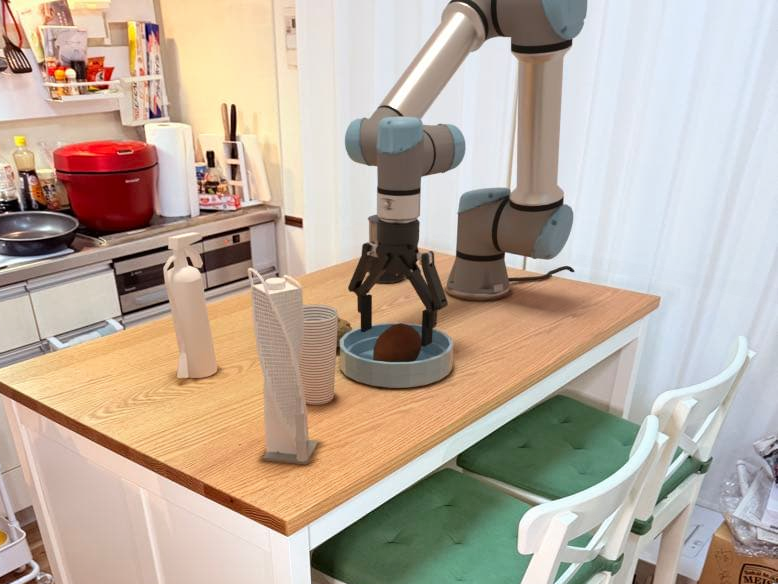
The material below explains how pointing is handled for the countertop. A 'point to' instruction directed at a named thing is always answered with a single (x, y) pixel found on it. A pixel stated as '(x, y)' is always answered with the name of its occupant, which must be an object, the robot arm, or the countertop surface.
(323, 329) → the cup
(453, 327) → the countertop surface
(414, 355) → the potato
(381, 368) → the bowl
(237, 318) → the countertop surface
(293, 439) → the skyscraper
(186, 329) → the fire extinguisher
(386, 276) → the milk frother
